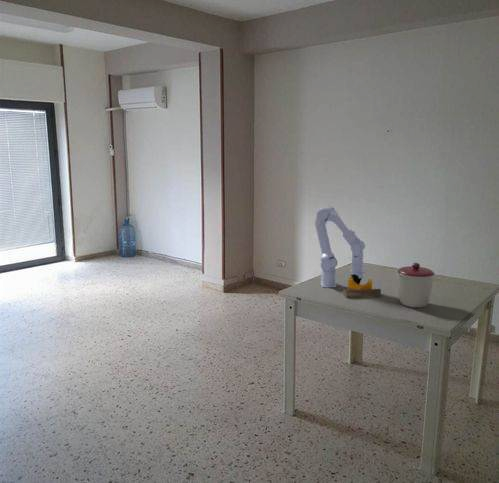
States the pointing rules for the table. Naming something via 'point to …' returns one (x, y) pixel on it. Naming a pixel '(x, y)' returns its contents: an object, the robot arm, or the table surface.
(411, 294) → the canister
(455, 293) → the table surface
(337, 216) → the robot arm
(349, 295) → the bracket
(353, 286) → the pipe clamp
